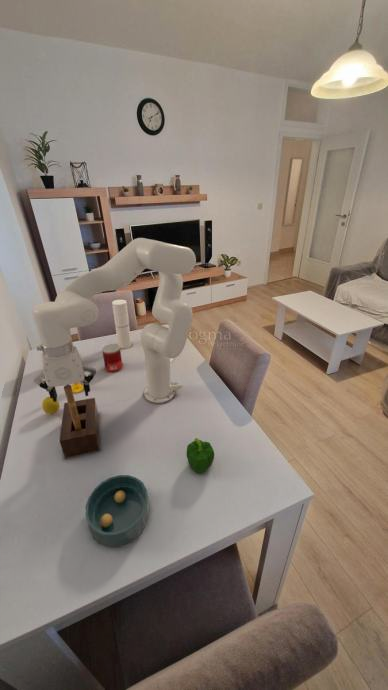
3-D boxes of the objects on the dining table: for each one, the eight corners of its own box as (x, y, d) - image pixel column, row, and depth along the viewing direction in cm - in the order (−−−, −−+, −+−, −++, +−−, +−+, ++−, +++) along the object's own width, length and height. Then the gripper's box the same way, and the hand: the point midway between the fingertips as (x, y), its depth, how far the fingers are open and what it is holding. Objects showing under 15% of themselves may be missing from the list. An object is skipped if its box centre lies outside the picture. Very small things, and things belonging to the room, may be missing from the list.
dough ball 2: (123, 506, 74) (129, 495, 75) (114, 503, 72) (121, 491, 73) (118, 501, 76) (124, 490, 77) (110, 498, 75) (116, 487, 76)
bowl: (144, 482, 81) (142, 468, 78) (154, 536, 68) (152, 522, 65) (89, 497, 77) (86, 483, 74) (89, 557, 64) (84, 544, 61)
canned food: (125, 366, 133) (123, 346, 128) (113, 374, 127) (110, 354, 122) (114, 361, 137) (111, 342, 131) (102, 369, 131) (98, 349, 125)
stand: (98, 413, 105) (94, 397, 101) (99, 450, 90) (95, 433, 86) (68, 419, 102) (64, 403, 98) (64, 458, 88) (59, 441, 84)
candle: (73, 394, 115) (65, 363, 107) (68, 388, 118) (60, 357, 110) (85, 389, 118) (78, 358, 110) (81, 383, 121) (74, 353, 113)
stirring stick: (85, 440, 94) (71, 384, 82) (85, 445, 92) (70, 388, 80) (79, 441, 93) (64, 385, 82) (79, 446, 92) (63, 389, 80)
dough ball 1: (110, 530, 68) (98, 530, 68) (114, 523, 71) (102, 523, 71) (110, 518, 68) (98, 518, 68) (114, 511, 71) (102, 511, 71)
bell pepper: (216, 475, 83) (218, 452, 78) (189, 480, 82) (190, 457, 77) (209, 452, 90) (210, 430, 85) (184, 456, 89) (184, 434, 84)
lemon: (55, 419, 102) (50, 403, 98) (42, 417, 103) (36, 401, 99) (64, 409, 107) (59, 393, 103) (51, 407, 108) (46, 391, 104)
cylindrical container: (115, 347, 149) (109, 304, 136) (121, 341, 155) (115, 299, 143) (128, 348, 148) (123, 305, 135) (133, 342, 154) (128, 300, 142)
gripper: (20, 359, 70) (38, 410, 79) (91, 349, 75) (101, 398, 84) (25, 345, 76) (42, 393, 85) (91, 336, 81) (100, 383, 90)
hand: (71, 395), depth 84 cm, fingers open, 8 cm apart
